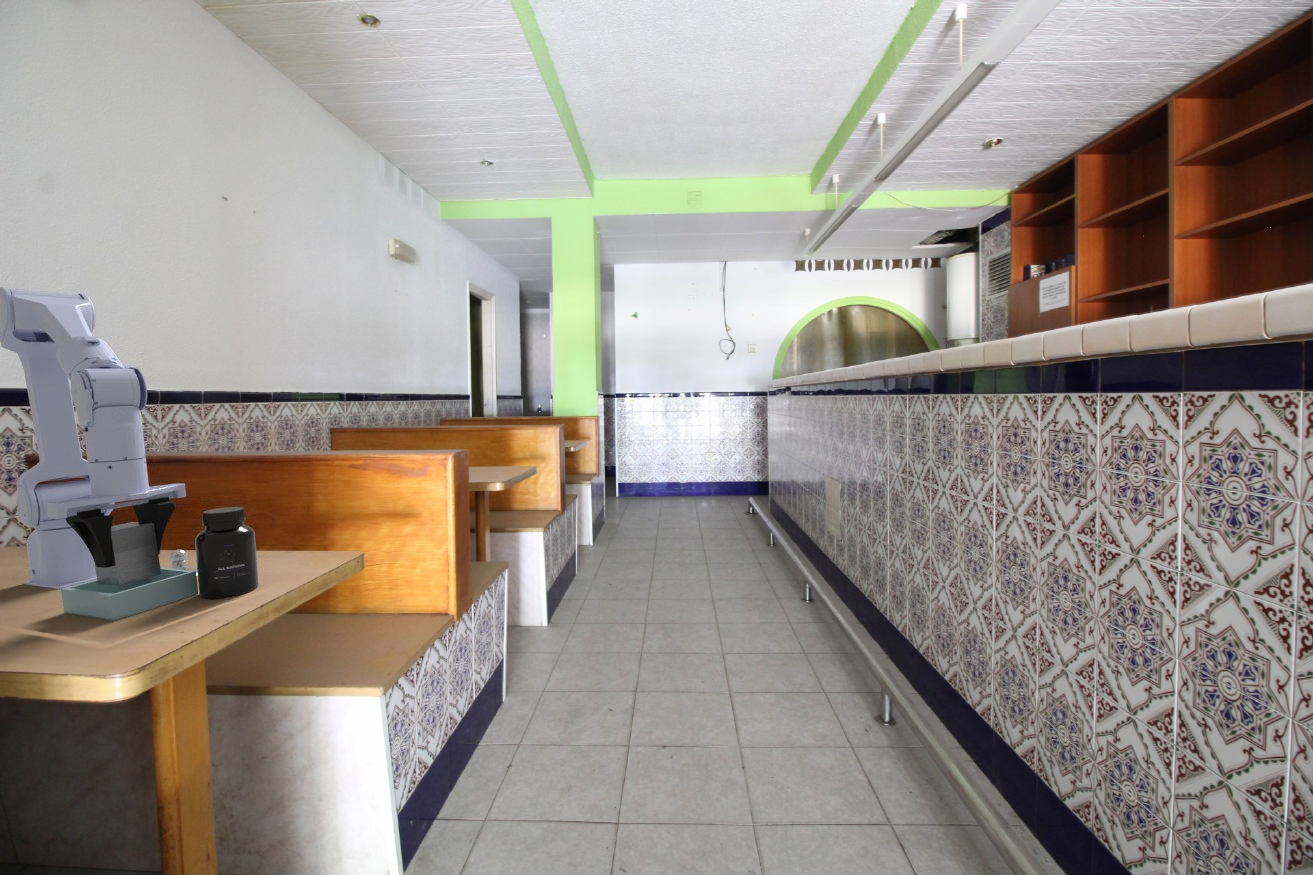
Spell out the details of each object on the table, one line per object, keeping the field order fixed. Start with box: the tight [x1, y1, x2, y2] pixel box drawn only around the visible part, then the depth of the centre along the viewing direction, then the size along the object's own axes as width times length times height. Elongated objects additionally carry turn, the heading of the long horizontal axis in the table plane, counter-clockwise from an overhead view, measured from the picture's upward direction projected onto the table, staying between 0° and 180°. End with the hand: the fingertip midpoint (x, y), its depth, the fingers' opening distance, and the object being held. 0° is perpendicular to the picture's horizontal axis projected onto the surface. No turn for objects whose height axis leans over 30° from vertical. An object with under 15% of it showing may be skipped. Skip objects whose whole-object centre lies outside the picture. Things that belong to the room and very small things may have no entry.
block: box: [94, 521, 161, 586], centre depth 80 cm, size 5×5×7 cm
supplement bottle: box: [194, 506, 259, 601], centre depth 83 cm, size 7×7×12 cm
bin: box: [60, 566, 199, 622], centre depth 80 cm, size 10×10×4 cm
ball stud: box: [169, 549, 198, 576], centre depth 92 cm, size 6×6×4 cm
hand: (129, 560), depth 80 cm, fingers closed on block, 5 cm apart
